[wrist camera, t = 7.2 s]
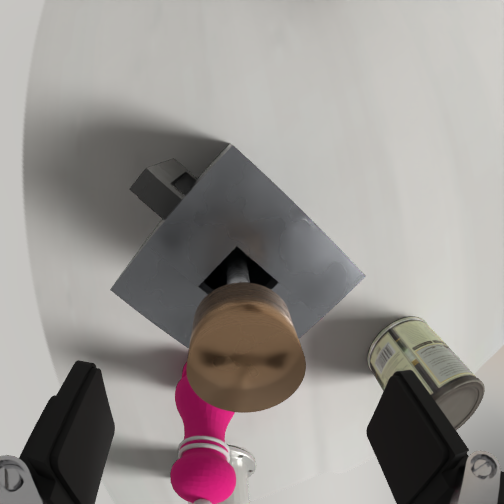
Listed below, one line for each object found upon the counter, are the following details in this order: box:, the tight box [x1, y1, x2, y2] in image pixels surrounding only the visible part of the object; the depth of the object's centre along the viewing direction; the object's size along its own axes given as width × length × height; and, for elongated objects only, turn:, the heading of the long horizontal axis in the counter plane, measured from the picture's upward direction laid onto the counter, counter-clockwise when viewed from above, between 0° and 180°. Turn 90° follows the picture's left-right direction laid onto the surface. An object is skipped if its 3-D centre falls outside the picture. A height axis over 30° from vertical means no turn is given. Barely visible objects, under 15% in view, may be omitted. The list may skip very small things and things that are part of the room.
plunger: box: [186, 246, 306, 412], centre depth 18 cm, size 7×7×17 cm
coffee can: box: [367, 317, 484, 430], centre depth 33 cm, size 10×10×14 cm
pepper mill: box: [170, 362, 236, 504], centre depth 29 cm, size 7×7×20 cm
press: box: [110, 144, 365, 348], centre depth 24 cm, size 10×13×16 cm
